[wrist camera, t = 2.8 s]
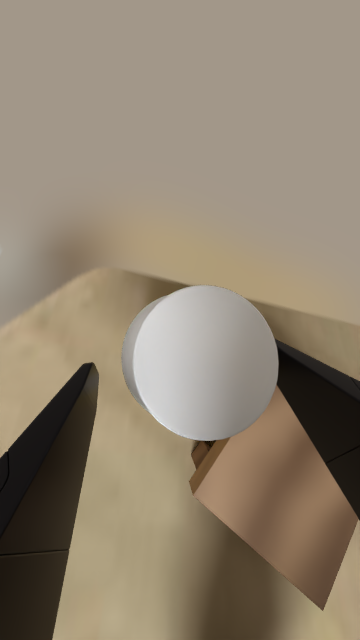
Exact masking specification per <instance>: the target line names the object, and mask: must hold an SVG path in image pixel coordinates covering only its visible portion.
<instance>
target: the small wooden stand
mask: <svg viewBox="0 0 360 640" xmlns="http://www.w3.org/2000/svg"><path fill="white" fill-rule="evenodd" d="M191 456H192V459H193V461H194V464H195V467H196V469H197V470H196V472H195V473H194V475H193V476H192V478H191V479H190V481H189V483H190V486H191V490H192V493H193V496H194V497H195V498H196V499H198V500H199V501H200V502H201V503H202V504H203V505H204V506H205V507H207V508H208V509H209V510H210V511H211V512H212V513H213V514H214V515H216V516H217V517H218V518H219V519H220V520H221V521H222V522H223V523H225V524H226V525H227V526H228V527H229V528H230V529H231V530H232V531H234V532H235V533H236V534H237V535H238V536H239V537H240V538H241V539H243V540H244V541H245V542H246V543H247V544H248V545H249V546H250V547H252V548H253V549H254V550H255V551H256V552H257V553H258V554H259V555H261V556H262V557H263V558H264V559H265V560H266V561H267V562H268V563H270V564H271V565H272V566H273V567H274V568H275V569H276V570H277V571H279V572H280V573H281V574H282V575H283V576H284V577H285V578H286V579H288V580H289V581H290V582H291V583H292V584H293V585H294V586H295V587H297V588H298V589H299V590H300V591H301V592H302V593H303V594H304V595H306V596H307V597H308V598H309V599H310V600H311V601H312V602H313V603H315V604H316V605H317V606H318V607H319V608H320V609H321V610H322V611H323V610H324V607H325V604H326V602H327V599H328V597H329V594H330V592H331V589H332V586H333V584H334V581H335V579H336V576H337V573H338V571H339V568H340V566H341V563H342V560H343V558H344V555H345V553H346V550H347V547H348V545H349V542H350V540H351V537H352V535H353V532H354V529H355V527H356V524H357V522H358V517H357V515H356V514H355V512H354V511H353V509H352V507H351V506H350V504H349V502H348V501H347V499H346V497H345V496H344V494H343V493H342V491H341V489H340V488H339V486H338V484H337V483H336V481H335V479H334V478H333V476H332V475H331V473H330V471H329V470H328V468H327V466H326V465H325V463H324V461H323V460H322V458H321V456H320V455H319V453H318V451H317V450H316V448H315V447H314V445H313V443H312V442H311V440H310V438H309V437H308V435H307V433H306V432H305V430H304V429H303V427H302V425H301V424H300V422H299V420H298V419H297V417H296V415H295V414H294V412H293V411H292V409H291V407H290V406H289V404H288V402H287V401H286V399H285V397H284V396H283V394H282V393H281V391H280V389H279V388H278V386H277V384H276V387H275V391H274V393H273V395H272V398H271V400H270V402H269V404H268V406H267V407H266V409H265V411H264V412H263V413H262V415H261V416H260V417H259V418H258V419H257V420H256V421H255V422H254V423H253V424H252V425H251V426H249V427H248V428H247V429H245V430H244V431H242V432H240V433H238V434H236V435H234V436H232V437H229V438H225V439H222V440H216V442H215V443H214V445H213V446H212V448H211V447H210V446H209V445H208V444H207V443H205V442H204V441H200V443H199V444H198V446H197V447H196V449H195V450H194V452H193V453H192V454H191Z"/></svg>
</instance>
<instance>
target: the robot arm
mask: <svg viewBox="0 0 360 640" xmlns="http://www.w3.org/2000/svg"><path fill="white" fill-rule="evenodd" d="M275 343H276V346H277V352H278V362H279V365H278V378H277V383H276V384H277V386H278V388H279V389H280V391H281V393H282V394H283V396H284V397H285V399H286V401H287V402H288V404H289V406H290V407H291V409H292V411H293V412H294V414H295V415H296V417H297V419H298V420H299V422H300V424H301V425H302V427H303V429H304V430H305V432H306V433H307V435H308V437H309V438H310V440H311V442H312V443H313V445H314V447H315V448H316V450H317V451H318V453H319V455H320V456H321V458H322V460H323V461H324V463H325V465H326V466H327V468H328V470H329V471H330V473H331V475H332V476H333V478H334V479H335V481H336V483H337V484H338V486H339V488H340V489H341V491H342V493H343V494H344V496H345V497H346V499H347V501H348V502H349V504H350V506H351V507H352V509H353V511H354V512H355V514H356V515H357V517H358V519H359V520H360V381H358V380H356V379H354V378H352V377H349V376H348V375H346V374H344V373H342V372H340V371H338V370H336V369H334V368H332V367H330V366H328V365H326V364H324V363H322V362H320V361H318V360H316V359H314V358H312V357H310V356H308V355H306V354H304V353H302V352H300V351H298V350H296V349H294V348H292V347H290V346H288V345H286V344H284V343H282V342H280V341H278V340H276V339H275ZM98 383H99V373H98V371H97V369H96V366H95V364H94V363H93V362H91V363H85V364H83V365H82V366H81V367H80V368H79V369H78V370H77V372H76V373H75V374H74V375H73V376H72V377H71V378H70V379H69V381H68V382H67V383H66V384H65V385H64V386H63V387H62V389H61V390H60V391H59V392H58V393H57V394H56V395H55V397H54V398H53V399H52V400H51V401H50V402H49V403H48V405H47V406H46V407H45V408H44V409H43V410H42V411H41V412H40V414H39V415H38V416H37V417H36V418H35V419H34V420H33V422H32V423H31V424H30V425H29V426H28V427H27V428H26V430H25V431H24V432H23V433H22V434H21V435H20V436H19V437H18V439H17V440H16V441H15V442H14V443H13V444H12V445H11V447H10V448H9V449H8V451H7V452H5V453H4V454H3V456H2V457H1V458H0V640H52V638H53V633H54V628H55V622H56V617H57V612H58V607H59V602H60V597H61V591H62V586H63V581H64V576H65V571H66V566H67V560H68V555H69V548H70V544H71V539H72V534H73V529H74V524H75V518H76V513H77V508H78V503H79V498H80V493H81V487H82V482H83V477H84V472H85V467H86V462H87V456H88V451H89V446H90V441H91V436H92V431H93V425H94V420H95V415H96V408H97V396H98Z"/></svg>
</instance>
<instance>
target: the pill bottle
mask: <svg viewBox="0 0 360 640" xmlns="http://www.w3.org/2000/svg"><path fill="white" fill-rule="evenodd" d="M278 365H279V362H278V352H277V346H276V343H275V339H274V336H273V334H272V331H271V329H270V327H269V325H268V324H267V321H266V320H265V318H264V317H263V315H262V314H261V313H260V312H259V310H258V309H257V308H256V307H255V306H254V305H253V304H251V303H250V302H249V301H248V300H247V299H245V298H244V297H242V296H240V295H239V294H237V293H235V292H233V291H231V290H228V289H225V288H221V287H217V286H211V285H196V286H190V287H186V288H183V289H180V290H177V291H175V292H173V293H171V294H170V295H166V296H163V297H161V298H158V299H157V300H155V301H153V302H151V303H150V304H148V305H147V306H146V307H145V308H143V309H142V310H141V311H140V312H139V313H138V314H137V316H136V317H135V318H134V320H133V321H132V323H131V324H130V326H129V328H128V330H127V333H126V335H125V338H124V342H123V347H122V369H123V374H124V378H125V381H126V384H127V386H128V388H129V390H130V392H131V394H132V395H133V397H134V398H135V399H136V401H137V402H138V403H139V404H140V405H141V406H142V407H143V408H144V409H145V410H146V411H148V412H149V413H150V414H152V415H153V416H154V418H155V419H156V420H157V421H158V422H159V423H160V424H162V425H163V426H165V427H166V428H167V429H169V430H171V431H172V432H174V433H176V434H178V435H180V436H182V437H186V438H189V439H193V440H200V441H213V440H222V439H225V438H229V437H232V436H234V435H236V434H238V433H240V432H242V431H244V430H245V429H247V428H248V427H249V426H251V425H252V424H253V423H254V422H255V421H256V420H257V419H258V418H259V417H260V416H261V415H262V413H263V412H264V411H265V409H266V407H267V406H268V404H269V402H270V400H271V398H272V395H273V393H274V391H275V387H276V383H277V378H278Z"/></svg>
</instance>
